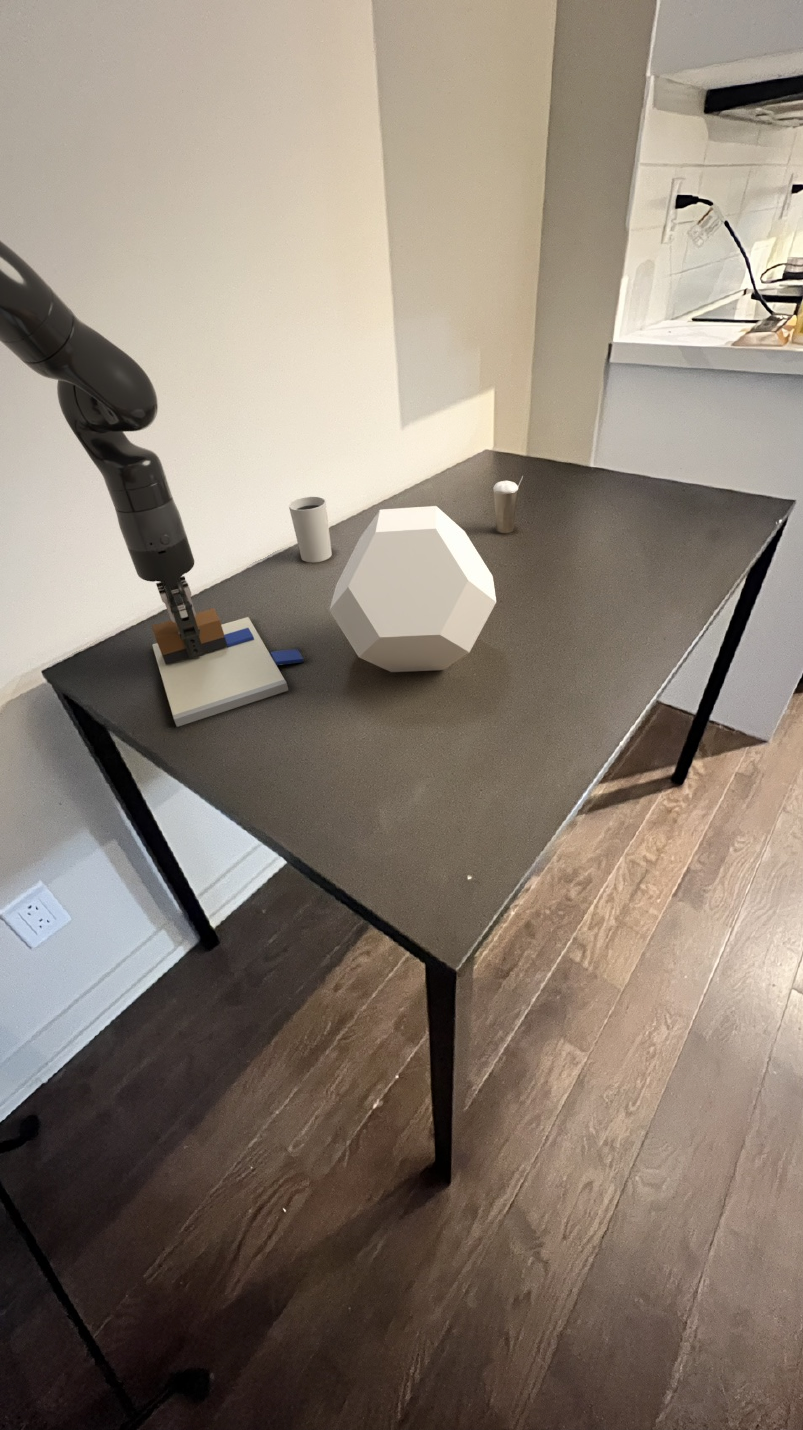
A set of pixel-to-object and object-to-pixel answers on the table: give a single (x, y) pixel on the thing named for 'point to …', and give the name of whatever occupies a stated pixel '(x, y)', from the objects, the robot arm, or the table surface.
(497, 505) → the milkshake
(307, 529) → the white cup
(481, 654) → the table surface
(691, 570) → the table surface
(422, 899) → the table surface
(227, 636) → the blue flat block
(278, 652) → the blue rectangular block
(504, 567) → the table surface
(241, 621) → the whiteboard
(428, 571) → the geometric form
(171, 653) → the eraser
